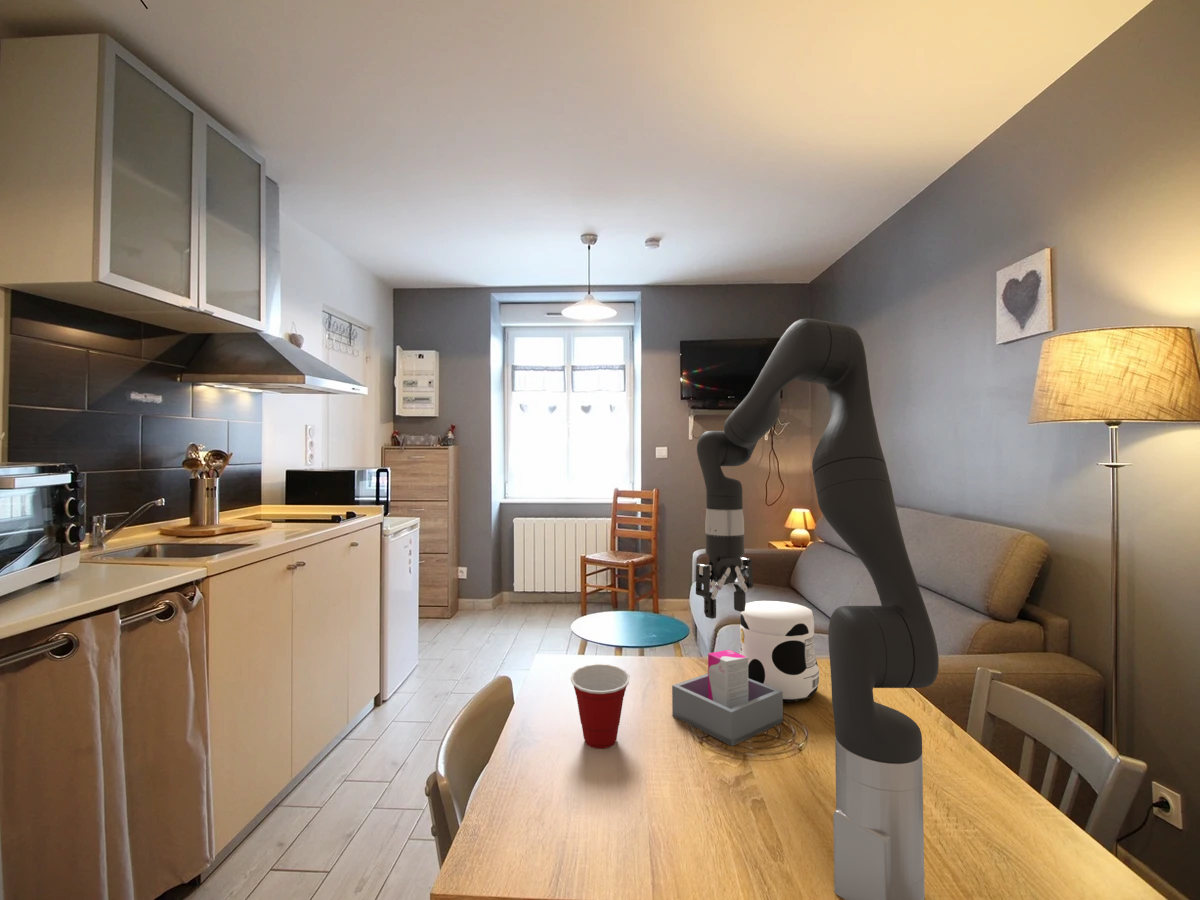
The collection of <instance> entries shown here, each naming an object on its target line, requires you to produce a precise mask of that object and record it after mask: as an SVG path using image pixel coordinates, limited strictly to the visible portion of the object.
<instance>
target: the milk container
mask: <svg viewBox="0 0 1200 900" xmlns="http://www.w3.org/2000/svg"><path fill="white" fill-rule="evenodd" d="M745 603H746V606H745V611H742V612H740V620H739V621H740V624H739V632H740V633H739V634H740V643H739V644H740V645H739V646H740V647H739V651H738V654H741V655H743V656H746V657H748V678H749V679H752V680H754V681H757V682H760V683H762V684H765V685H768V686H770V687H773V688H775V689H778V690H781V691H783V702H788V703H789V702H790V703H792V702H800V701H804V700H807V699H810V698H811V697H813V696H814V695H815V694H816V692H817V690H818V687H819V683H820V668H819V665H818V661H817V658H816V653H815V621H814V620H815V618H814V614H813V610H812V609H811V608H808V607H807V606H805V605H801V604H799V603H793V602H787V601H778V600H758V601H757V600H756V601H750V602H745Z"/></svg>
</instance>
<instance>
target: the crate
mask: <svg viewBox="0 0 1200 900" xmlns="http://www.w3.org/2000/svg"><path fill="white" fill-rule="evenodd" d="M671 693H672V695H671V697H672V700H671V701H672V703H671V705H672V710H671V711H672V712H671V713H672V715H671V716H672V717H674V718H676V719H678V720H680V721H681V722H684V723H685V724H687V725H689V726H691V727H693V728H695V729H698V730H699V731H700V732H703V733H705V734H707V735H709V736H711V737H713V738H715V739H716V740H719V741H721V742H722V743H725V744H726V745H728V746H730V747H734V746H735V745H738V744H740V743H742V742H745V741H746V740H748V739H752V738H753V737H756V736H757V735H759V734H761V733H763V732H765V731H768V730H770V729H772V728H775V727H776V726H779V725H780V724H782V723H784V722H783V721H784V709H783V708H784V705H783V704H784V701H783V691H781V690H778V689H775V688H773V687H770V686H768V685H765V684H762V683H760V682H757V681H754V680H752V679H749V678H748V702H746V703H744V704H741V705H739V706H736V707H734V708H732V709H730V708H728V707H726V706H723V705H721V704H719V703H717V702H714V701H712V700H710V699H708V673H706V674H702V675H699V676H695V677H693V678H690V679H687V680H685V681H682V682H678V683H675V684H672V686H671Z"/></svg>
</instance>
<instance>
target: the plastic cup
mask: <svg viewBox="0 0 1200 900" xmlns="http://www.w3.org/2000/svg"><path fill="white" fill-rule="evenodd" d="M569 678H570V682H571V684H572V685H573V689H574V692H575V697H576V701H577V708H578V715H579V720H580V724H581V729H582V736H583V740H584V742H585V744H586V745H587V746H588V747H589V748H592V749H601V750H602V749H608V748H611V747H613V746H614V745H615V744H616V742H617V738H618V733H619V727H620V726H619V725H620V723H621V716H622V709H623V703H624V697H625V693H626V689H627V687H628V685H630V684H629V683H630V681H631V676H630V674H629V672H627V670H626V669H623V668H621V667H619V666H616V665H611V664H603V663H601V664H600V663H596V664H587V665H584V666H582V667H579V668H577V669H576V670H574V671H573V672H572V673H571V675H570V677H569Z"/></svg>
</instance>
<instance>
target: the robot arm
mask: <svg viewBox="0 0 1200 900" xmlns="http://www.w3.org/2000/svg"><path fill="white" fill-rule="evenodd" d="M868 371H869V370H868V363H867V355H866V352H865V344H864V342H863V340H862V337H861V336H860V333H859V332H858V331H857V329H854V328H852V327H851V326H849V325H846V324H842V323H836V322H830V321H825V320H821V319H816V318H801V319H798V320H796V321H794V322H793V323H792V324H791V325H790V326H789V327H788V328H786V330H785V332H784V333H783V334H782V335H781V337H780V338H779V340H778V342H777V343H776V345H775V347H774V349H773V350H772V352H771V354H770V355H769V357H768V359H767V361H766V362H765V363H764V366H763V368H762V369H761V371H760V373H759V375H758V377H757V379H756V380H755V382H754V384H753V386H752V387H751V389H750V391H749V392H748V393H747V395H746V396H745V397H744V398H743V400H742V401H741V402H740V403H739V404H738V406H736V408H735V409H733V411H732V412H731V413H730V414H729V416H727V418H726V420H725V422H724V424H723V430H708V431H705V432H703V433H702V434H701V435H700V436H699V438H698V440H697V443H696V444H697V445H696V455H697V459H698V462H699V465H700V470H701V473H702V476H703V480H704V484H705V485H704V486H705V490H706V491H705V492H706V493H705V494H706V495H705V496H706V497H705V498H706V499H705V500H706V503H705V504H706V513H705V521H704V524H705V525H704V526H705V532H704V533H705V535H704V537H705V540H704V542H705V544H704V545H705V554H706V556H707V557H708V562H707V564H703V563H697V565H696V570H695V573H696V575H695V595H697V596H699V597H702V598H703V611H704V615H705V617H706V618H708V619H710V620H713V619H716V618H717V598H716V597H717V595H718V593H719V591H721V590H722V589H723V587H724V586H725V585H728V584H731V586H732V587H733V589H734V591H733V609H734V610H735V611H737V612H740V613H741V612H742V611H745V606H746V603H747V602H746V593H747V592H748V590H749V589H752V588H753V586H754V575H753V560H752V558H748V557H743V556H745V518H744V510H743V484H742V483H741V481H740V480H738V479H737V478H731V477H727V476H726V475H725V474H724V472H723V470H722V467H739V466H741V465H744V464H746V463H747V462H748V461H749V460H750V459H751V457H752V455H753V453H754V450H755V448H756V446H757V444H758V442H759V441H760V440H761V439H762V438H763V437H764V436H765V435H766V434H767V433H768V432H769V431H770V430H771V429H772V428H773V427H774V426H775V424H776V422H777V421H778V418H779V417H780V413H781V405H782V403H781V391H782V390H783V389H784V388H785V387H786V386H787V385H789V383H792V382H793V381H795V380H797V381H801V382H807V383H813V384H819V385H823V386H824V387H825V388H826V391H827V393H828V397H829V405H830V419H829V421H828V424H827V426H826V428H825V430H824V432H823V434H822V436H821V438H820V439H819V441H818V444H817V446H816V448H815V450H814V451H815V452H814V453H813V457H812V463H811V464H812V465H811V470H812V475H813V482H814V487H815V492H816V493H815V494H816V499H817V503H818V504H817V505H818V507H819V510H820V512H821V513H822V515H823V517H824V518H825V520H826V522H827V523H828V524H829V525H830V527H831V528H832V529H833V530H834V531H835V533H836V534H837V535H838V536H839V537H840V538H841V540H843V542H845V544H847V546H848V547H849V548H850V549H851V550H852V551H853V552H854V553H855V555H856V556H857V557H858V558H859V559H860V561H861V562H862V564H863V565H864V567H865V569H866V570H867V571H868V573H869V575H870V577H871V579H872V581H873V584H874V585H875V586H874V587H875V588H876V589H875V590H876V592H877V595H878V599H879V600H880V601H879V602H880V605H843V606H838V607H837V608H836V609H834V611H833V612H832V614H831V616H830V618H829V624H828V634H827V638H828V653H829V655H828V656H829V667H830V682H831V704H832V712H833V713H832V714H833V718H834V719H833V721H834V735H835V736H834V737H835V738H834V739H835V741H834V743H835V810H834V811H833V814H832V815H833V816H832V817H833V819H832V820H833V821H832V822H833V876H834V877H833V882H834V885H833V887H834V888H833V889H834V893H835V895H837V896H839V897H840V898H841V899H843V900H925V897H926V896H925V895H926V894H925V842H924V839H925V836H924V786H923V785H924V784H923V782H924V781H923V779H924V778H923V776H924V773H923V760H924V759H923V736H922V735H923V734H922V731H921V728H920V727H919V725H918V724H917V723H916V721H914V720H913V719H912V718H911V717H909V716H908V715H907V714H905V713H903V712H902V711H900V710H897V709H895V708H893V707H891V706H890V707H889V706H887V705H884V704H881V703H879V702H876V701H875V699H874V692H873V691H874V689H919V688H920V689H921V688H928V687H930V686H931V685H933V684H934V682H935V681H936V680H937V676H938V674H939V662H940V661H939V650H938V643H937V640H936V636H935V632H934V629H933V625H932V621H931V619H930V616H929V613H928V609H927V607H926V604H925V601H924V599H923V595H922V592H921V590H920V586H919V585H918V582H917V578H916V576H915V572H914V570H913V566H912V564H911V561H910V560H911V559H910V557H909V555H908V551H907V548H906V545H905V544H906V543H905V539H904V536H903V533H902V530H901V529H902V528H901V525H900V520H899V517H898V513H897V508H896V503H895V499H894V498H895V497H894V493H893V492H894V491H893V489H892V488H893V486H892V483H891V479H890V475H889V472H888V468H887V463H886V459H885V455H884V453H883V450H882V446H881V441H880V437H879V432H878V428H877V421H876V417H875V415H874V409H873V404H872V396H871V389H870V380H869V372H868ZM746 579H747V580H746Z"/></svg>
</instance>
